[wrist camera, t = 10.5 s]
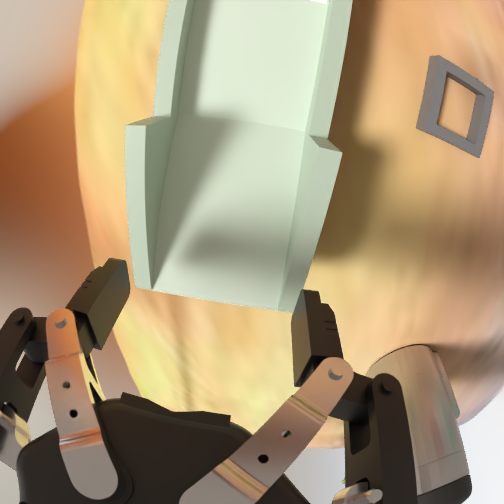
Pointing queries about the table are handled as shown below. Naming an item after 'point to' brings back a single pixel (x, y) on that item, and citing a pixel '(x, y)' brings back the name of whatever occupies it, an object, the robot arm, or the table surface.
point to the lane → (236, 150)
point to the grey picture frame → (433, 102)
